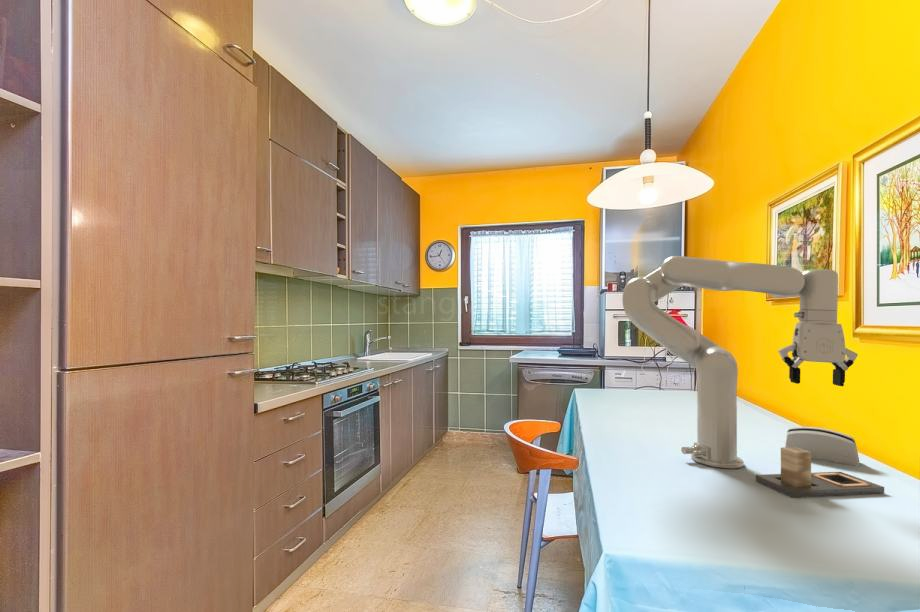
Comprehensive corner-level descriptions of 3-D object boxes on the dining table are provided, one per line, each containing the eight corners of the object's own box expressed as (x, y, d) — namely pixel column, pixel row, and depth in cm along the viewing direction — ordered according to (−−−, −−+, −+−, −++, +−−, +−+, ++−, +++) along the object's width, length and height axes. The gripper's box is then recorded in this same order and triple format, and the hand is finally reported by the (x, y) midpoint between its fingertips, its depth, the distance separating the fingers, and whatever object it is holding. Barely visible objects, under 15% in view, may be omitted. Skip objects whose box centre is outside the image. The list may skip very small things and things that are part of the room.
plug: (796, 491, 100) (795, 452, 100) (780, 485, 104) (780, 447, 104) (811, 491, 101) (810, 452, 101) (795, 484, 104) (795, 447, 105)
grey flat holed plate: (792, 497, 96) (792, 490, 97) (755, 481, 106) (755, 474, 106) (884, 493, 100) (884, 486, 100) (840, 477, 110) (840, 470, 110)
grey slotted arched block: (859, 462, 122) (859, 430, 120) (859, 471, 119) (859, 439, 117) (786, 449, 134) (784, 420, 132) (784, 457, 131) (782, 428, 128)
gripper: (788, 316, 110) (786, 384, 109) (867, 319, 106) (866, 388, 106) (772, 316, 117) (771, 379, 117) (846, 318, 113) (845, 384, 113)
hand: (816, 384), depth 111 cm, fingers open, 9 cm apart
